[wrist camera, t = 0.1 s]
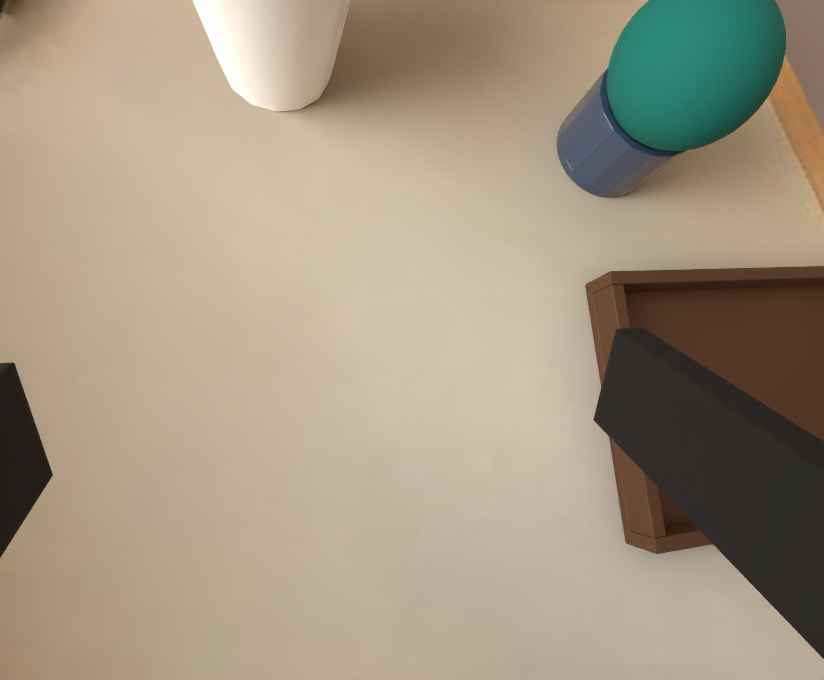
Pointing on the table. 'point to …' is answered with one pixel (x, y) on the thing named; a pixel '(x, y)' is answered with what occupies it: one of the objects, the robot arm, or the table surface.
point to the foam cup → (275, 47)
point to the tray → (715, 359)
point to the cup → (605, 148)
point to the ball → (694, 69)
